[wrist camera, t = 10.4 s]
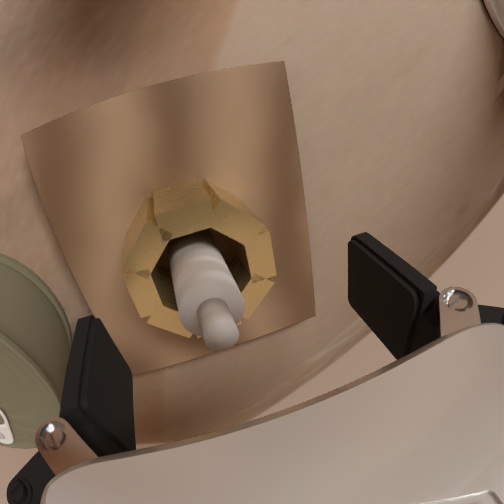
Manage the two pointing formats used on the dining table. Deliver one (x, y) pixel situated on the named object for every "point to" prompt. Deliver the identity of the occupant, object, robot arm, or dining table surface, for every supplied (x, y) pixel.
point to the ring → (186, 222)
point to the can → (29, 354)
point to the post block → (169, 172)
